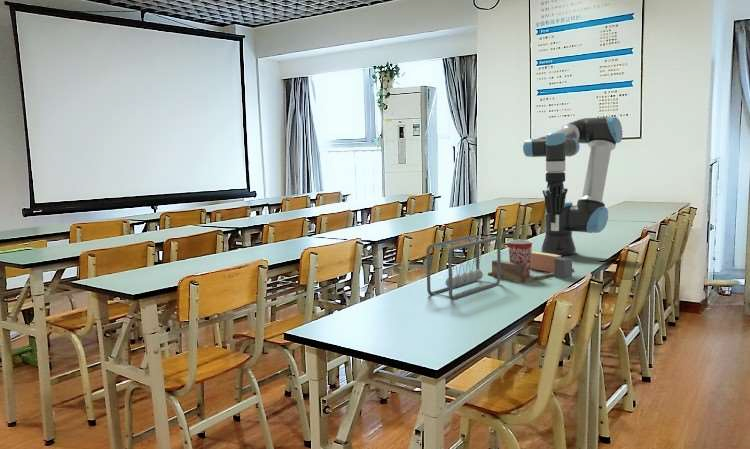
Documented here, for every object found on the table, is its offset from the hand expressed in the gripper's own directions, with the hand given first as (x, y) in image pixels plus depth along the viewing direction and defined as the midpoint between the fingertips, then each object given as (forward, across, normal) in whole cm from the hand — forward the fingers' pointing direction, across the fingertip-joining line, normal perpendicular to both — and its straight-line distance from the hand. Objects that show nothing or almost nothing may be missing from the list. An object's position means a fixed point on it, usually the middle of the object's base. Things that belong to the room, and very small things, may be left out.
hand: (554, 230), depth 240 cm
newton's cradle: (+16, +52, +2) cm, 54 cm away
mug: (+16, +19, 0) cm, 25 cm away
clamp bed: (+16, +15, 0) cm, 21 cm away
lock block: (+16, +11, +12) cm, 23 cm away
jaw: (+15, +7, 0) cm, 17 cm away
